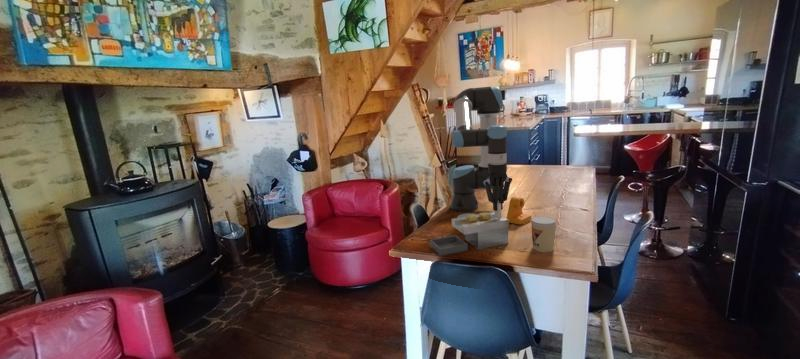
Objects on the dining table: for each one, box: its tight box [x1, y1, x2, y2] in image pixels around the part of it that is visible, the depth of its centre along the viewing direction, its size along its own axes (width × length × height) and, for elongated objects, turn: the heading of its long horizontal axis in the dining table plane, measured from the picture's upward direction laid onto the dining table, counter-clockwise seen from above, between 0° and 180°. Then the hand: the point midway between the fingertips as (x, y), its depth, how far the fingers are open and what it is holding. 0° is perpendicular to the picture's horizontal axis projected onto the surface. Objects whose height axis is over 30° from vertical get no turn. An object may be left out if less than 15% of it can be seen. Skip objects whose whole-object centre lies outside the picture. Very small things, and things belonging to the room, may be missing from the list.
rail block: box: [451, 211, 509, 250], centre depth 159 cm, size 12×20×10 cm, turn 107°
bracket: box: [506, 196, 532, 226], centre depth 181 cm, size 11×7×12 cm, turn 132°
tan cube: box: [478, 211, 491, 222], centre depth 158 cm, size 4×4×4 cm
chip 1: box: [466, 213, 478, 224], centre depth 157 cm, size 4×4×4 cm
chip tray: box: [429, 234, 469, 257], centre depth 156 cm, size 11×12×3 cm
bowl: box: [456, 212, 479, 218], centre depth 175 cm, size 11×12×6 cm
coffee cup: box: [530, 215, 557, 253], centre depth 149 cm, size 9×9×12 cm
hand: (497, 217), depth 160 cm, fingers closed
